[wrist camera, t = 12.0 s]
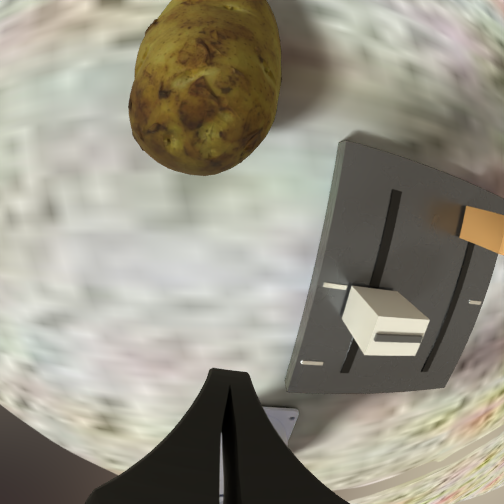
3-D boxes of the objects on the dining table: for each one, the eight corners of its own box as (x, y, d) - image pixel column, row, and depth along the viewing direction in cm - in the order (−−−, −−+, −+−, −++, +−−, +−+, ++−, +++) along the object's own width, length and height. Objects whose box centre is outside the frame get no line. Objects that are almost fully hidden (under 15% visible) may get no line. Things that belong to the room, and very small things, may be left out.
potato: (318, 27, 16) (355, -37, 8) (241, 190, 18) (238, 202, 11) (207, -11, 14) (193, -81, 7) (125, 144, 17) (57, 132, 10)
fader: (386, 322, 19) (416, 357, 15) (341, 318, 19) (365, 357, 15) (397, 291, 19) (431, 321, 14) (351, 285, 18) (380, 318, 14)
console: (437, 379, 23) (444, 388, 22) (284, 379, 22) (287, 392, 21) (497, 199, 19) (509, 201, 17) (338, 142, 18) (346, 140, 16)
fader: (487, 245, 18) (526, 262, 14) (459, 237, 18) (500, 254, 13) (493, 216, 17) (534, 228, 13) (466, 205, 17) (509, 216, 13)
